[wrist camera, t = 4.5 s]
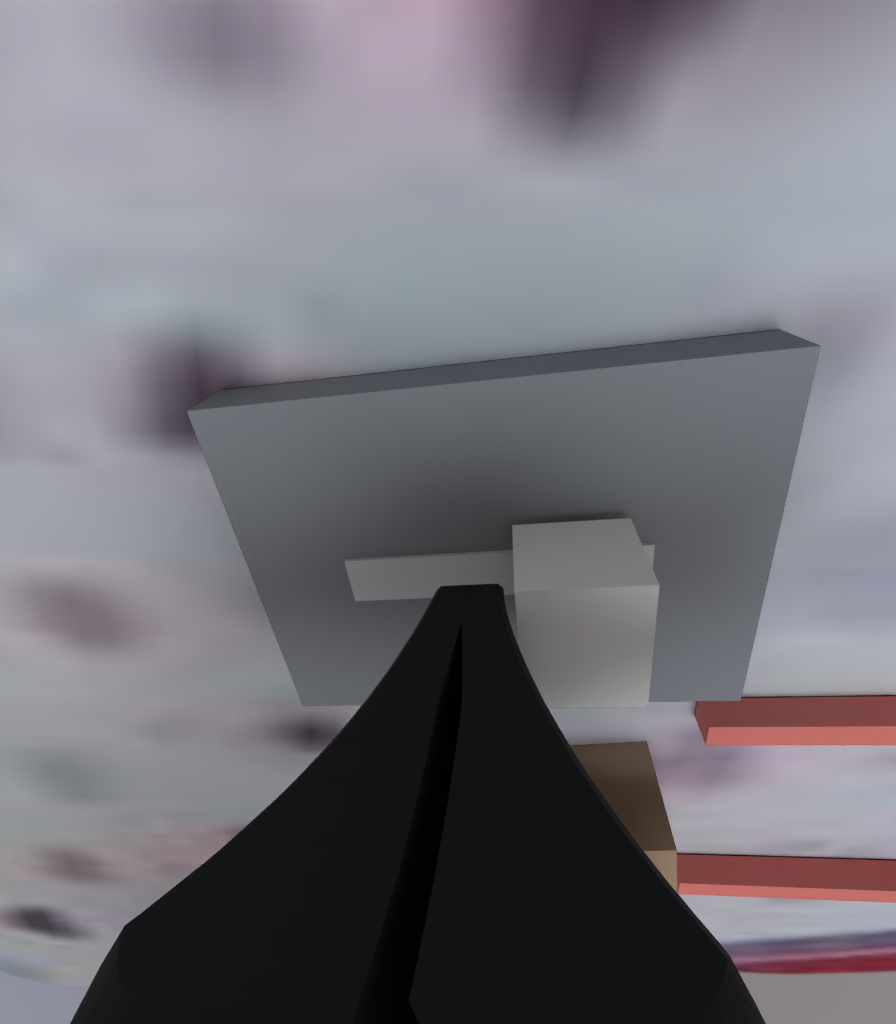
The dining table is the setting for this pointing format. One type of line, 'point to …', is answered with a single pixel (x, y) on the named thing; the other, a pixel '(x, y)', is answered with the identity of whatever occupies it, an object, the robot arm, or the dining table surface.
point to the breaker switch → (585, 612)
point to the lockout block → (633, 797)
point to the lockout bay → (793, 726)
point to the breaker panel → (512, 493)
